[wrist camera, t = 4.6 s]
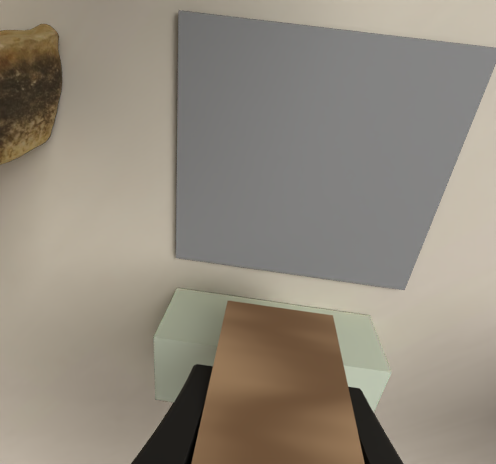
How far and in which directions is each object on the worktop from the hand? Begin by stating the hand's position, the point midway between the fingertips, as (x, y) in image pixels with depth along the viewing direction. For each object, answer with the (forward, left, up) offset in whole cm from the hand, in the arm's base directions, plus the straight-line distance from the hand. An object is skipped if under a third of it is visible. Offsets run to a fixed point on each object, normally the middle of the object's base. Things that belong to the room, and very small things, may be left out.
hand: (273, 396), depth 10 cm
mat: (-1, -6, -6) cm, 9 cm away
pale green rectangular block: (0, +3, -6) cm, 7 cm away
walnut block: (0, 0, -3) cm, 3 cm away
